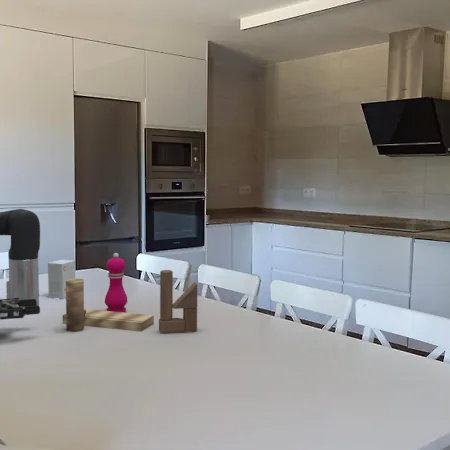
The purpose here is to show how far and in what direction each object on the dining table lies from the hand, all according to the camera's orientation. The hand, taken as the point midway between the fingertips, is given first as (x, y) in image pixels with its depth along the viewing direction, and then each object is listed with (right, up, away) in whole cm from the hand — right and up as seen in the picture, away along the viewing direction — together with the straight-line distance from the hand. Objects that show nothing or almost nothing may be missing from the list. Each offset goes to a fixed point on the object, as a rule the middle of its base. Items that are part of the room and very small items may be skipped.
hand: (38, 306), depth 161 cm
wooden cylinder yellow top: (+10, -7, +6) cm, 14 cm away
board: (+18, -7, +12) cm, 22 cm away
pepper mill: (+18, -6, +23) cm, 30 cm away
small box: (-7, -3, +47) cm, 47 cm away
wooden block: (+39, -8, +5) cm, 41 cm away
